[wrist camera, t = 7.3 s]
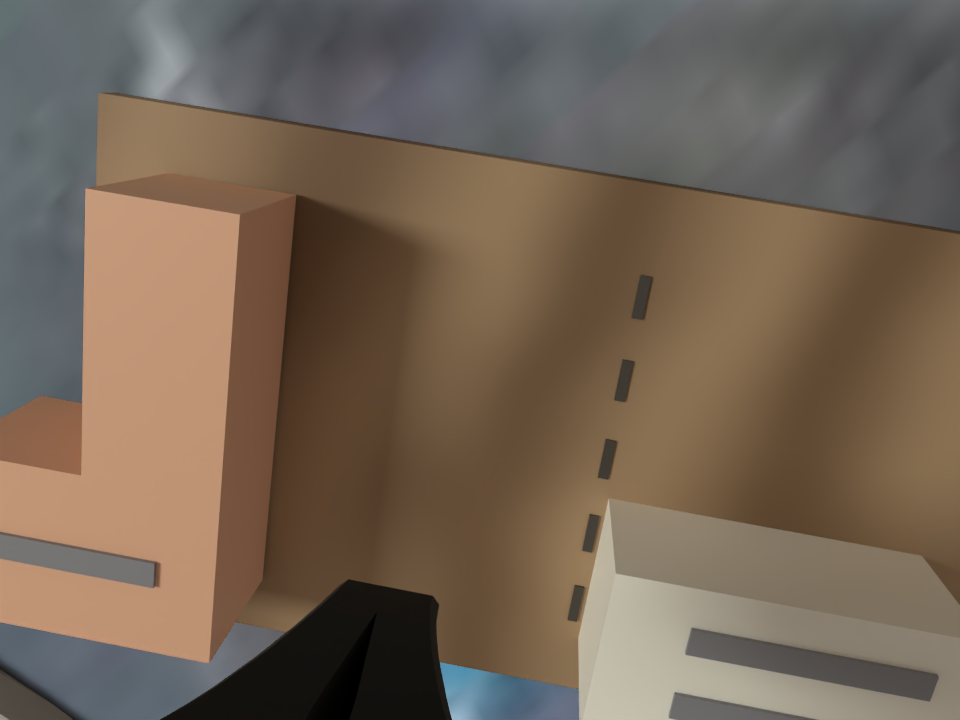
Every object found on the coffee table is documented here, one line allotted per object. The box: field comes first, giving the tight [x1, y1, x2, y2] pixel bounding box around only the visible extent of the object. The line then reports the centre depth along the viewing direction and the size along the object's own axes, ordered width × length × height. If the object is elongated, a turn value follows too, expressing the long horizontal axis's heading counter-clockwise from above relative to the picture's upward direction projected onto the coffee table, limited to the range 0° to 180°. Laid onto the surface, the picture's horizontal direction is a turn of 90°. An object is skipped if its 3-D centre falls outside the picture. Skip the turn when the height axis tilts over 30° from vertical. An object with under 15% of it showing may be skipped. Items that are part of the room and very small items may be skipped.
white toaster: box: [578, 498, 960, 720], centre depth 20 cm, size 8×4×4 cm, turn 81°
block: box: [0, 173, 296, 663], centre depth 20 cm, size 6×10×4 cm, turn 171°
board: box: [96, 93, 960, 689], centre depth 21 cm, size 22×13×1 cm, turn 81°
